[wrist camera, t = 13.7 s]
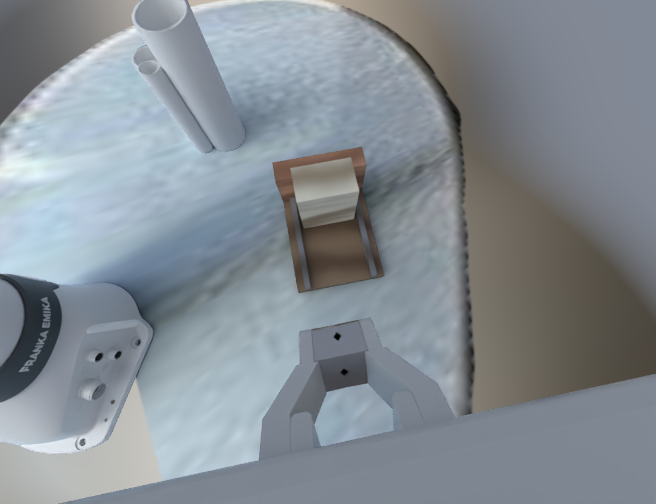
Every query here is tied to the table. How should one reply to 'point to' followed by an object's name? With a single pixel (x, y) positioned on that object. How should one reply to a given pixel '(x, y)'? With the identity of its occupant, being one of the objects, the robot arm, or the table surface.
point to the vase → (185, 74)
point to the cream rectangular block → (325, 192)
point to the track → (329, 232)
